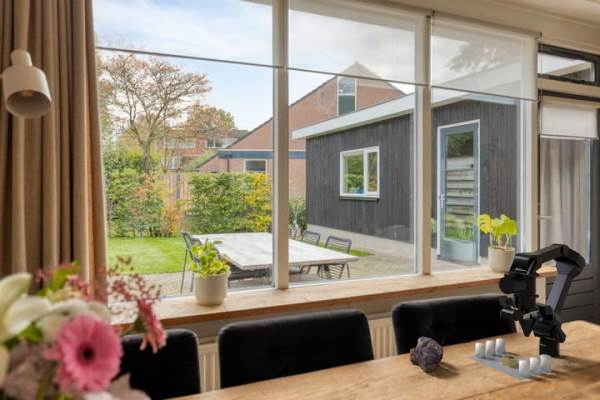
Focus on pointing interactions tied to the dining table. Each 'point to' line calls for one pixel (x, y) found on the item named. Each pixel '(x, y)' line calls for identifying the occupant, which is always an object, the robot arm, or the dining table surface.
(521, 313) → the robot arm
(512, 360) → the nut
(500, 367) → the board
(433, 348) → the rock
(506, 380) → the dining table surface
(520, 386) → the dining table surface
